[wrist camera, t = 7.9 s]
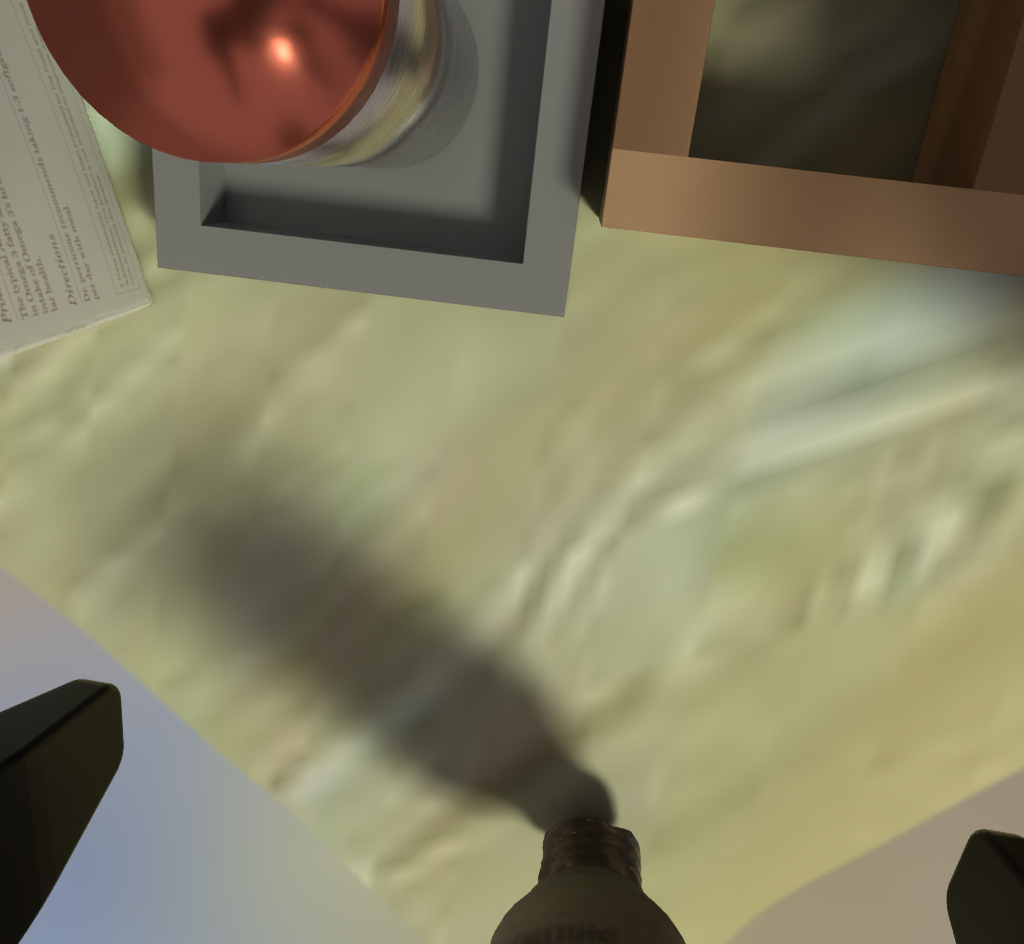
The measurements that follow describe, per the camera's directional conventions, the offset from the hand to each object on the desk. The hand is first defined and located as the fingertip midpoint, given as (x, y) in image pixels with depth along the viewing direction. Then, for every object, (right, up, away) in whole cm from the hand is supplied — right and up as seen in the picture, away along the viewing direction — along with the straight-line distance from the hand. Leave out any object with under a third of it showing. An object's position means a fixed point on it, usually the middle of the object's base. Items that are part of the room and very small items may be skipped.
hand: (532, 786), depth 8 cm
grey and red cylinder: (-3, +12, +9) cm, 15 cm away
